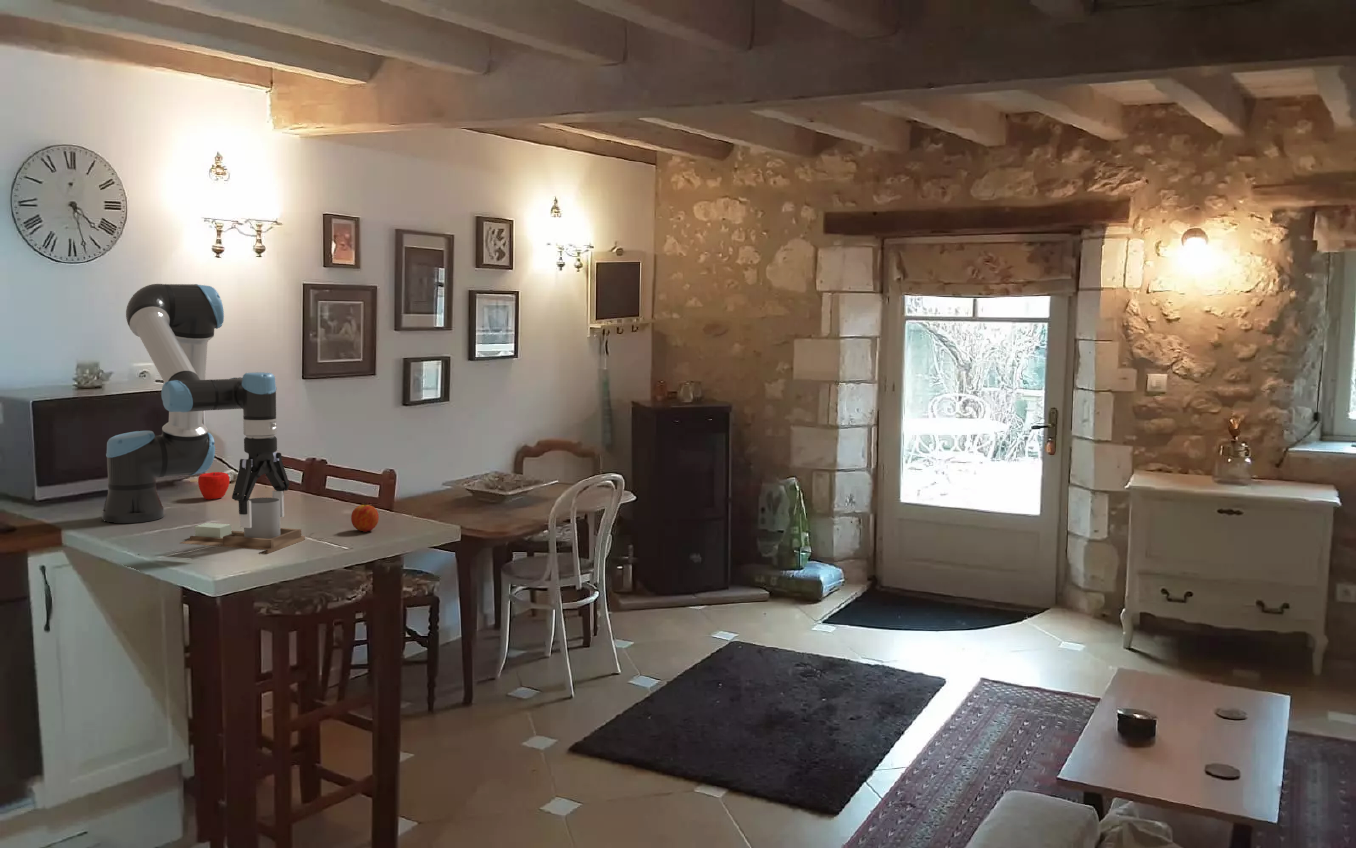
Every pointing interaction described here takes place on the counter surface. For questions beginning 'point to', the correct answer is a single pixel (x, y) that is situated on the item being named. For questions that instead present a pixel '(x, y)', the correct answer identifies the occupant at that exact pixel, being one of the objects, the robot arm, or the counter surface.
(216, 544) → the jig
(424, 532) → the counter surface
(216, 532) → the pale green block
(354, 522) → the fruit
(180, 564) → the counter surface
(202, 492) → the apple
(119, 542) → the counter surface
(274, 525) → the cup
